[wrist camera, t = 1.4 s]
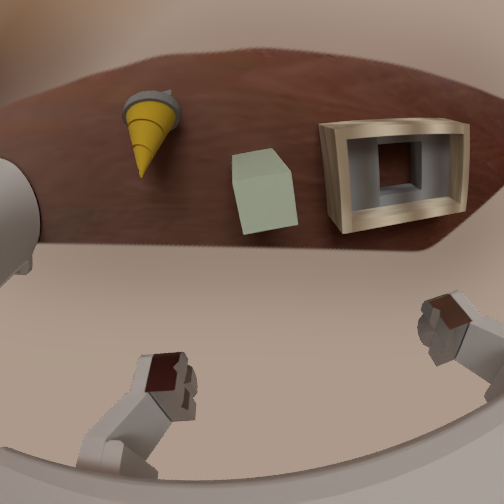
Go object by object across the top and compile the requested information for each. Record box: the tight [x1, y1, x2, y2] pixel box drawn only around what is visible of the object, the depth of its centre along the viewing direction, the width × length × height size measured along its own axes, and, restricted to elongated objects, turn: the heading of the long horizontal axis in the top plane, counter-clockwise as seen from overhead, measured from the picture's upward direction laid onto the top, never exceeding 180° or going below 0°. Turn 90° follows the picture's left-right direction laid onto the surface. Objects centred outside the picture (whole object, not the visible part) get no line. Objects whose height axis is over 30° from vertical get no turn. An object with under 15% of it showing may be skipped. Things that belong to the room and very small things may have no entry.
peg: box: [232, 148, 298, 235], centre depth 25 cm, size 4×4×10 cm
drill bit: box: [122, 89, 181, 177], centre depth 23 cm, size 5×5×10 cm
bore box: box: [318, 118, 470, 234], centre depth 27 cm, size 16×10×5 cm, turn 100°
